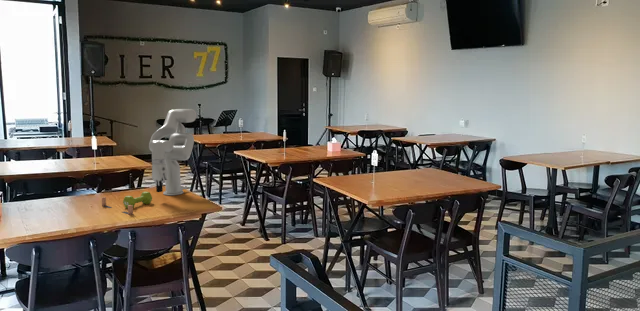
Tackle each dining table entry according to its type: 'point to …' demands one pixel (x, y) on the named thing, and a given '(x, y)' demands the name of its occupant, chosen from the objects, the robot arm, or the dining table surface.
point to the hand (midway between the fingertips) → (159, 191)
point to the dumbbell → (137, 199)
